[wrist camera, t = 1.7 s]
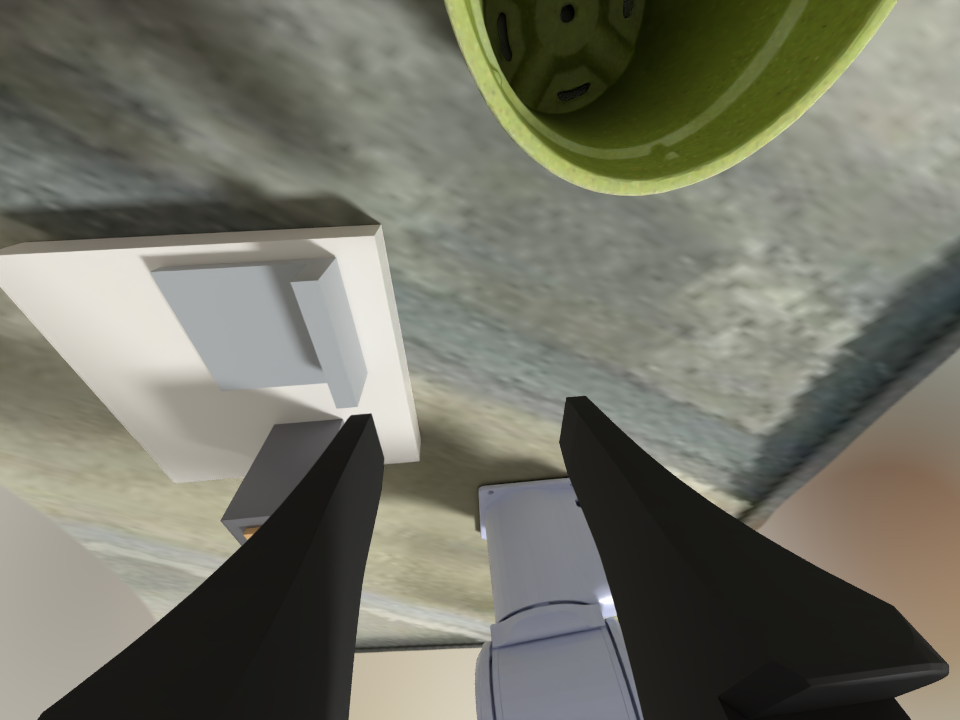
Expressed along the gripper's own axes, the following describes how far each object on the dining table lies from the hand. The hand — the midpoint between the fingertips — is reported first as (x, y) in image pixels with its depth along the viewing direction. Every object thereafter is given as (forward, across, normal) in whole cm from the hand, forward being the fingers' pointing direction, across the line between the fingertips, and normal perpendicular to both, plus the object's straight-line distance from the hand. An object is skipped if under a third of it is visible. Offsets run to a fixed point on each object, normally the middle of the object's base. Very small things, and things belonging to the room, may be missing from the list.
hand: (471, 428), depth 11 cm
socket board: (+10, +12, +4) cm, 16 cm away
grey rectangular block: (+8, +10, +8) cm, 15 cm away
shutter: (+8, +9, 0) cm, 12 cm away
